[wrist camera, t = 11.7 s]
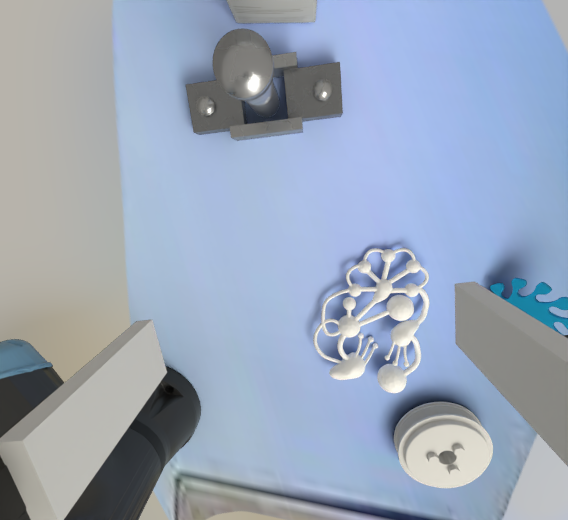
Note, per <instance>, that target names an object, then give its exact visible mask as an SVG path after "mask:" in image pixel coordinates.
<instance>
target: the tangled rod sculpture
mask: <svg viewBox="0 0 568 520" xmlns="http://www.w3.org/2000/svg"><path fill="white" fill-rule="evenodd" d="M402 251H404V252H408V253H409V254H410V255H411V257H412V260H409V261H408V262H407V264H406V268H407V269H405V270H404V271H402V272H400V273H399V274H397V275H396V276H394V277H393V278H391V279H389V280H386V279H387V275H388V271H389V268H390V264H391V262H392V261H393V260H394V259H395V253H397V252H402ZM371 252H380V253H382V254H381V257H382V260H383V261H385V266H384V270H383V274H382V278H381V280H380V279H379V278H378V277H377V276H376V275H375V274H374V273H373V272H372V271H371V264H370V263H369V262H368V261H366V259H367V257H368V255H369V254H370V253H371ZM356 268H358V270H359V271H360V272H361V273H367V274H368V275H369V276H370V277H371V278H372V279H373V280H374V281H375V282H376V283H377V284H376V287H360V285H358V284H352V283H351V281H350V279H349V274H350V273H351V271H353V270H354V269H356ZM419 270H422V271H423V273H424V274H425V280H424V281H423V283H422V284H420V285H419V286H417V285H415V284H413V283H411V284H408V285H406V286H405V288H392V283H394V282H395V281H397V280H398V279H400V278H402V277H403V276H405V275H406V274H408V273H409V272H411V273H416V272H418V271H419ZM346 280H347V283H348V284H349V288H348V289H345V290H341V291H338V292H336V293H334V294H332V295H330V296H329V297H328V298H327V299H326V300H325V301H324V303H323V306H322V313H321V322H322V323H320V325H319V326H318V327H317V329H316V331H315V333H314V338H313V341H314V345H315V348H316V350H317V351H318V353H319V354H320V355H321V356H322V357H323V358H325V359H327V360H330V361H333V362H336V363H339V364H337V365H335V366H334V367H333V368H331V369H330V371H329V374H330V376H331V377H332V378H335V379H338V380H347V379H353V378H357V377H360V376H361V375H362V374H363V373H364V371H365V365H366V364H367V362H368V361H369V359H370V357H371V356H372V354H373V352H374V349H377V348H378V344H377V343H374V344H373V347H372V349H371V351H370V353H369V355H368V357H367V359H366V360H365V362H364V359H363V357H364V356H365V354H366V352H367V349H368V347H369V345H370V342H373V341H374V338H373V337H372V336H370V337H369V338H368V342H367V345H366V347H365V349H364V351H363V353H362V355H361V356H360V355H358V354H359V351H360V348H361V344H362V338H363V337H364V335H363V334H362V333H359V331H360V326H363V325H365V324H367V323H370V322H372V321H374V320H377V319H379V318H382V317H384V316H386V315H390V316H391V317H392V318H393V319H395V320H398V321H403V322H400V323H399V324H397V325H396V326H395V327H394V328H393V329H392V330H391V339H392V341H393V343H392V346H391V349H390V351H389V354H388V355H386V356H385V360H389V359H390V355H391V353H392V351H393V348H394V345H395V344H396V345H397V346H398V350H397V355H396V360H395V361H393V364H386V365H384V366H382V367H381V368H380V369H379V372H378V375H377V378H378V382H379V385H380V386H381V387H382V389H384V390H385V391H387V392H389V393H398V392H400V391H402V390H403V389H404V388H405V386H406V382H407V379H406V376H407V375H408V374H410V373H411V372H412V371H414V370H415V369H416V368H417V366H418V365H419V363H420V360H421V351H420V344H419V341H418V340H417V338H416V337H415V336H414V333H415V332H416V330H417V329H418V328H419V324H421V323H422V322H423V321H424V319H425V317H426V316H427V312H428V308H429V298H428V295H427V293H426V291H425V290H424V289H423V288H422V287H423V286H424V285H426V284H427V282H428V280H429V274H428V272H427V271H426V270H425V268H423V267H422V266H421V265H420V263H419V261H417V260H416V259H415V255H414V254H413V252H412V251H411V250H409V249H406V248H400V249H396V250H394V251H393V250H391V249H386V250H381V249H378V248H373V249H370V250H368V251H367V252H366V253H365V255H364V258H363V261H360V262H359V263H358V264H357V265H355V266H352V267H351V268H350V269H349V270H348V271H347V273H346ZM361 291H375V294H374V296H373V300H372V301H371V302H370V303H369V304H368V305H367V306H366V307H365V308H364V309H363V310H362V311H361V312H360V313H359V314H358V315H357V316H356V317H354V316H353V315H351V310H352V309H354V308H355V306H356V301H355V300H354V299H353V298H351V297H347V298H345V299H344V301H343V306H344V308H345V309H347V315H345V316H343V317H342V318H340V320H339V321H338V320H335V319H327V320H325V308H326V304H327V303H328V302H329V301H330V300H331V299H332V298H334V297H335V296H338V295H340V294H343V293H347V292H349V294H350V295H351V296H354V297H356V296H359V295H360V294H361ZM390 293H406V295H408V296H409V297H414V296H416V295H418V293H420V294H421V296H422V298H423V307H422V311H421V314H420V316H419V318H417V319H416V320H408V321H404V320H407V319H409V318H410V317H411V316H412V314H413V312H414V306H413V303H412V301H411V300H410V299H409V298H408V297H406V296H404V295H395V296H393V297H391V298H390V299H389V301H388V302H387V308H386V309H387V310H386V311H384V312H382V313H379V314H377V315H375V316H372V317H370V318H368V319H365V320H363V321H361V322H359V319H360V318H361V317H362V316H363V315H364V314H365V313H366V312H367V311H368V310H369V309H370V308H371V307H372V306H373V305H374V304H375V303H378V302H380V301H383V300H385V299H386V298H387V297H388V296H389V294H390ZM328 322H334V323H336V324H337V325H338V329H339V331H337V332H335V333H329V332H328V331H327V329H326V326H325V324H326V323H328ZM321 328H323V331H324V333H325V334H326V335H328V336H337V335H339V334H341V336H340V337H339V339H338V343H337V348H338V352H339V354H340V355H341V357H342V358H343V359H342V361H340V360H337V359H334V358H331V357H328V356H326V355H325V354H324V353H323V352H322V351H321V350H320V349H319V347H318V344H317V335H318V332H319V330H320V329H321ZM358 333H359V334H358ZM357 334H358V338H359V345H358V348H357V351H356V353H354V352H352V353H350V354H348V355H347V354H346V353H345V352H344V350H343V342H344V339H345V338H346V337H354V336H356V335H357ZM410 341H412V342H413V344H414V348H415V360H414V362H413V363H412V364H411V365H410V366H409V362H408V361H407V356H406V347H407V345H408V344H409V343H410ZM400 347H404V359H405V362H404V366H406V367H408V366H409V367H408V368H407V369H405V370H404V371H403V370H402V368H401V367H399V366H397V365H398V362H397V361H398V358H399V353H400Z"/></svg>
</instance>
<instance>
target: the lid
mask: <svg viewBox="0 0 568 520" xmlns="http://www.w3.org/2000/svg"><path fill="white" fill-rule="evenodd" d="M394 444H395V448H396V450H397V452H398V457H399V461H400V463H401V465H402V467H403V469H404V470H405V472H406V473H407V474H408V475H409V476H410V477H412V478H413V479H415V480H416V481H418V482H420V483H423V484H425V485H429V486H433V487H438V488H454V487H459V486H463V485H465V484H468V483H470V482H472V481H473V480H475V479H476V478H478V477H479V476H480V475H481V474H482V473H483V472H484V470H485V469H486V468H487V466H488V465H489V463H490V461H491V458H492V455H493V444H492V441H491V438H490V436H489V434H488V433H487V431H486V430H485V429H484V428H483V427H482V425H481V423H480V422H479V420H478V418H477V417H476V416H475V415H474V414H473V413H472V412H471V411H470V410H468V409H466V408H465V407H463V406H460V405H458V404H454V403H450V402H431V403H426V404H423V405H420V406H418V407H415V408H414V409H412V410H410V411H409V412H408V413H406V414H405V415H404V416H403V417H402V418H401V419H400V421H399V422H398V424H397V426H396V428H395V431H394Z"/></svg>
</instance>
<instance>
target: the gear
mask: <svg viewBox="0 0 568 520" xmlns="http://www.w3.org/2000/svg"><path fill="white" fill-rule="evenodd" d="M526 284H527V281H526V280H524V279H520V278H514V279H513V280H512V286H513V292H512V294H511V296H510V298H505V297H503V296H502V292H503V290H504V288H505V286H504V284H503V283H497V284H493V285H491V286H490V289H491V290H492V291H493V292H494V293H495V294H496V295H497V296H499V297H501V298H502V299H504V300H505V301H507V302H509V303H510V304H512V305H514V306H515V307H517V308H519V309H520V310H522V311H524V312H525V313H527V314H528V315H530V316H532V317H533V318H535V319H537V320H538V321H540V322H542V323H543V324H545V325H547V326H548V327H550V328H551V329H553V330H555V331H556V332H558V333H560V332H559V331H558V330H557V329H556V328H555V326H554V322H561V323H563V324H564V326H565V327H566V328H567V329H568V318H564V317H560V316H557V315H555V314H553V313H551V312H550V311H549V307H552V306H554V307H557V308H559V309H561V310H568V297H561V298H559V299H558V300H556V301H553V302H539V301H538V300H537V299H536V295H538V294H548V293H549V292H551V290H552V288H551V287H550V286H549V285H547V284H546V283H544V282H541V283H539V284H538V285H537V286H536V289H535V290H534V292H533V293H532V294H530V295H528V296H521V295H520V294H519V293H518V291H519V289H521V288H523V287H525V286H526ZM560 334H561V333H560ZM561 335H563V334H561ZM563 336H564V335H563Z"/></svg>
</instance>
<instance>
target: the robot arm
mask: <svg viewBox="0 0 568 520" xmlns="http://www.w3.org/2000/svg"><path fill="white" fill-rule="evenodd" d="M455 329H456V345H457V346H458V347H459V348H460V349H461V350H462V351H463V352H464V353H465V355H466V356H467V357H468V358H469V359H470V360H471V361H472V362H473V363H474V364H475V365H476V367H477V368H478V369H479V370H480V371H481V372H482V373H483V374H484V375H485V376H486V377H487V379H488V380H489V381H490V382H491V383H492V384H493V385H494V386H495V387H496V388H497V390H498V391H499V392H500V393H501V394H502V395H503V396H504V397H505V398H506V399H507V400H508V402H509V403H510V404H511V405H512V406H513V407H514V408H515V409H516V410H517V411H518V412H519V414H520V415H521V416H522V417H523V418H524V419H525V420H526V421H527V422H528V423H529V425H530V426H531V427H532V428H533V429H534V430H535V431H536V432H537V433H538V434H539V435H540V437H541V438H542V439H543V440H544V441H545V442H546V443H547V444H548V445H549V446H550V447H551V449H552V450H553V451H554V452H555V453H556V454H557V455H558V456H559V457H560V458H561V460H562V461H563V462H564V463H565V464H566V465H567V466H568V335H564V336H563V335H561V334H560V333H558V332H556V331H555V330H553V329H551V328H550V327H548V326H547V325H545V324H543V323H542V322H540V321H538V320H537V319H535V318H533V317H532V316H530V315H528V314H527V313H525V312H524V311H522V310H520V309H519V308H517V307H515V306H514V305H512V304H510V303H509V302H507V301H505V300H504V299H502V298H501V297H499V296H497V295H496V294H494V293H492V292H491V291H489V290H487V289H486V288H484V287H482V286H481V285H479V284H478V283H476V282H467V283H458V284H455ZM52 367H53V365H52V364H51V363H49V362H47V361H46V360H45V359H44V358H43V357H42V356H41V355H40V354H39V353H38V352H37V351H36V350H35V349H34V347H33V346H32V345H31V344H30V343H28V342H26V341H23V340H19V339H11V340H6V341H2V342H0V520H138V519H139V517H140V515H141V513H142V511H143V509H144V507H145V505H146V503H147V501H148V499H149V497H150V495H151V493H152V491H153V489H154V487H155V485H156V483H157V481H158V479H159V477H160V475H161V473H162V471H163V468H164V466H165V465H166V464H167V463H168V462H169V461H170V460H171V458H172V457H173V456H174V455H175V454H176V453H177V452H178V451H179V449H181V448H182V447H183V446H184V445H185V444H186V443H187V442H188V441H189V440H190V438H191V437H192V435H193V434H194V431H195V429H196V427H197V425H198V422H199V420H200V415H201V406H200V401H199V398H198V395H197V393H196V391H195V390H194V388H193V387H192V385H191V384H190V383H189V382H188V381H187V380H186V379H185V378H184V377H183V376H182V375H180V374H179V373H177V372H176V371H174V370H172V369H170V368H168V367H165V363H164V360H163V356H162V352H161V349H160V345H159V342H158V338H157V335H156V331H155V328H154V324H153V321H152V320H144V321H136V322H135V323H134V324H133V325H132V326H130V327H129V328H128V329H127V330H126V331H125V332H123V333H122V334H121V335H120V336H119V337H118V338H116V339H115V340H114V341H113V342H112V343H111V344H109V345H108V346H107V347H106V348H105V349H104V350H102V351H101V352H100V353H99V354H98V355H97V356H95V357H94V358H93V359H92V360H91V361H90V362H88V363H87V364H86V365H85V366H84V367H83V368H81V369H80V370H79V371H78V372H77V373H76V374H74V375H73V376H72V377H71V378H70V379H69V380H67V381H66V382H65V383H64V382H63V381H62V379H61V378H60V377H59V376H58V374H57V373H56V372H55V370H54V369H53V368H52Z"/></svg>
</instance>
